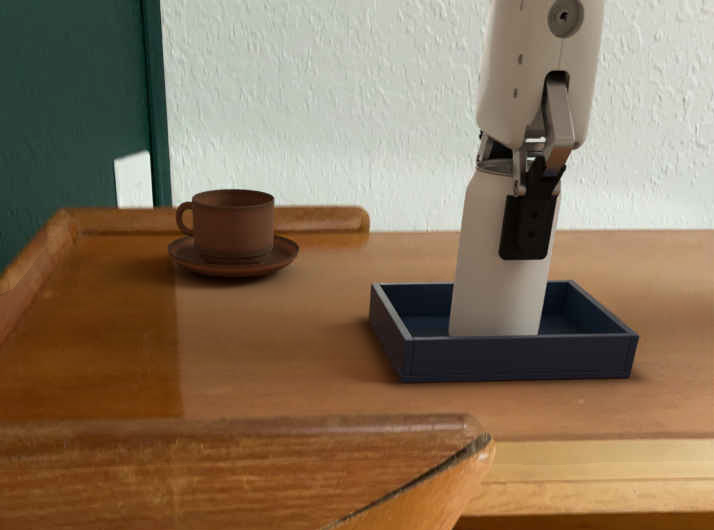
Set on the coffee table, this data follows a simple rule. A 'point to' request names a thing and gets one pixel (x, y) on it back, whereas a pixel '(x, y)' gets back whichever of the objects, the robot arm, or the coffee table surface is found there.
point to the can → (495, 263)
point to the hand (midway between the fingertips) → (505, 241)
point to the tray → (499, 337)
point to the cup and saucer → (231, 235)
